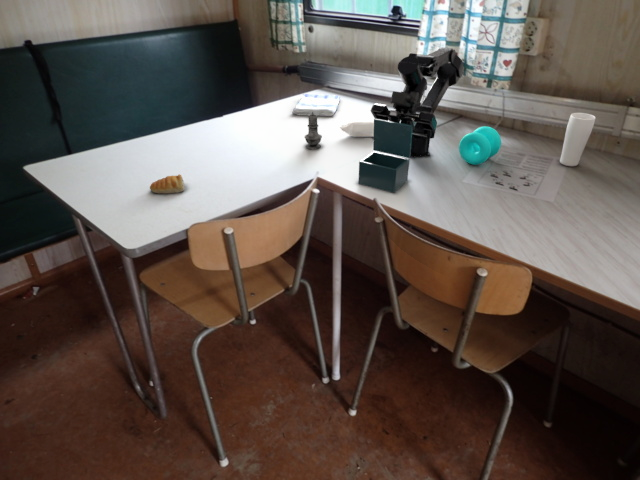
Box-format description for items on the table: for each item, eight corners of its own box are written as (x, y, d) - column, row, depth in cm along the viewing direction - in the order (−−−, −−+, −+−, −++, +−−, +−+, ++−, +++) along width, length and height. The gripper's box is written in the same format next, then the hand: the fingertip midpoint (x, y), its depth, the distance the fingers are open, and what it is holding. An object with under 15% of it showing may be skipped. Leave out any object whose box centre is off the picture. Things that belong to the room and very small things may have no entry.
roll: (339, 133, 167) (339, 118, 164) (372, 133, 167) (373, 118, 164) (340, 139, 162) (340, 123, 159) (374, 139, 162) (374, 123, 159)
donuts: (455, 161, 145) (459, 130, 139) (470, 151, 151) (475, 122, 145) (484, 169, 139) (490, 138, 133) (499, 159, 145) (505, 129, 140)
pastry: (151, 197, 126) (148, 184, 124) (150, 187, 132) (147, 175, 130) (186, 192, 129) (183, 179, 127) (184, 182, 134) (181, 170, 132)
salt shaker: (320, 150, 153) (319, 115, 147) (303, 149, 154) (301, 114, 148) (323, 144, 158) (323, 109, 152) (306, 143, 159) (305, 108, 153)
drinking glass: (580, 161, 143) (595, 114, 135) (580, 169, 138) (596, 120, 130) (556, 157, 146) (570, 111, 138) (556, 166, 141) (570, 117, 132)
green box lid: (411, 126, 123) (412, 125, 124) (373, 119, 128) (375, 118, 129) (409, 158, 129) (410, 157, 129) (373, 150, 134) (374, 149, 134)
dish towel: (291, 115, 185) (291, 108, 183) (302, 98, 204) (302, 92, 203) (333, 117, 182) (333, 110, 181) (341, 99, 202) (341, 93, 200)
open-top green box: (394, 193, 127) (396, 170, 123) (358, 183, 132) (359, 161, 128) (407, 181, 133) (409, 159, 129) (372, 172, 138) (373, 151, 134)
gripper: (375, 74, 129) (355, 123, 127) (438, 83, 121) (418, 136, 119) (385, 96, 139) (366, 142, 137) (445, 105, 131) (425, 154, 129)
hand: (392, 143), depth 130 cm, fingers closed, pressing on green box lid
